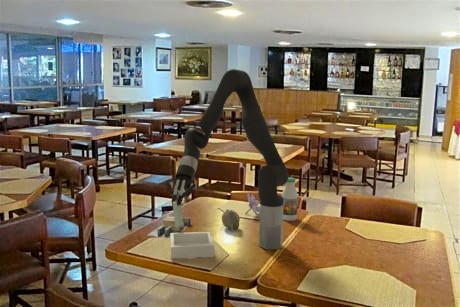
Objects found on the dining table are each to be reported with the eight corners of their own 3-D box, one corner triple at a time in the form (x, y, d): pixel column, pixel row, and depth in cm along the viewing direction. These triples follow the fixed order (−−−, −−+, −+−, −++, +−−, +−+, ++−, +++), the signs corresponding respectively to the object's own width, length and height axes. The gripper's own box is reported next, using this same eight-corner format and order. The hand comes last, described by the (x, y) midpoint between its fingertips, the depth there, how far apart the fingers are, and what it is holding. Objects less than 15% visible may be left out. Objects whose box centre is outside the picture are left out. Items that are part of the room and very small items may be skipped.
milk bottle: (277, 217, 230) (279, 177, 227) (291, 215, 234) (292, 175, 230) (286, 222, 223) (287, 180, 220) (300, 220, 227) (301, 179, 223)
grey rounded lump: (237, 236, 210) (241, 218, 205) (218, 232, 210) (222, 214, 205) (239, 223, 218) (242, 206, 213) (220, 220, 218) (224, 202, 213)
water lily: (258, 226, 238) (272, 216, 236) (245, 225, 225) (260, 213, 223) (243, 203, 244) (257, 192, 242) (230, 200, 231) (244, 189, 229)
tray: (214, 257, 179) (214, 245, 178) (171, 258, 177) (171, 247, 176) (209, 242, 194) (209, 231, 194) (170, 243, 192) (170, 233, 191)
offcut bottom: (167, 224, 213) (167, 220, 213) (183, 226, 211) (183, 222, 211) (161, 228, 208) (161, 224, 207) (178, 230, 206) (178, 226, 205)
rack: (166, 223, 218) (166, 215, 217) (191, 226, 215) (191, 218, 214) (146, 237, 199) (146, 228, 198) (173, 240, 196) (173, 231, 195)
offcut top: (166, 220, 213) (166, 216, 212) (182, 222, 211) (182, 217, 211) (162, 224, 207) (162, 220, 207) (178, 225, 206) (178, 221, 205)
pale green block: (179, 222, 196) (176, 198, 192) (182, 222, 195) (180, 198, 191) (175, 227, 192) (172, 202, 188) (178, 227, 192) (176, 202, 188)
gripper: (169, 163, 198) (157, 198, 188) (199, 164, 194) (189, 201, 184) (174, 173, 204) (162, 208, 194) (204, 175, 200) (194, 210, 190)
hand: (175, 204), depth 189 cm, fingers closed on pale green block, 1 cm apart
